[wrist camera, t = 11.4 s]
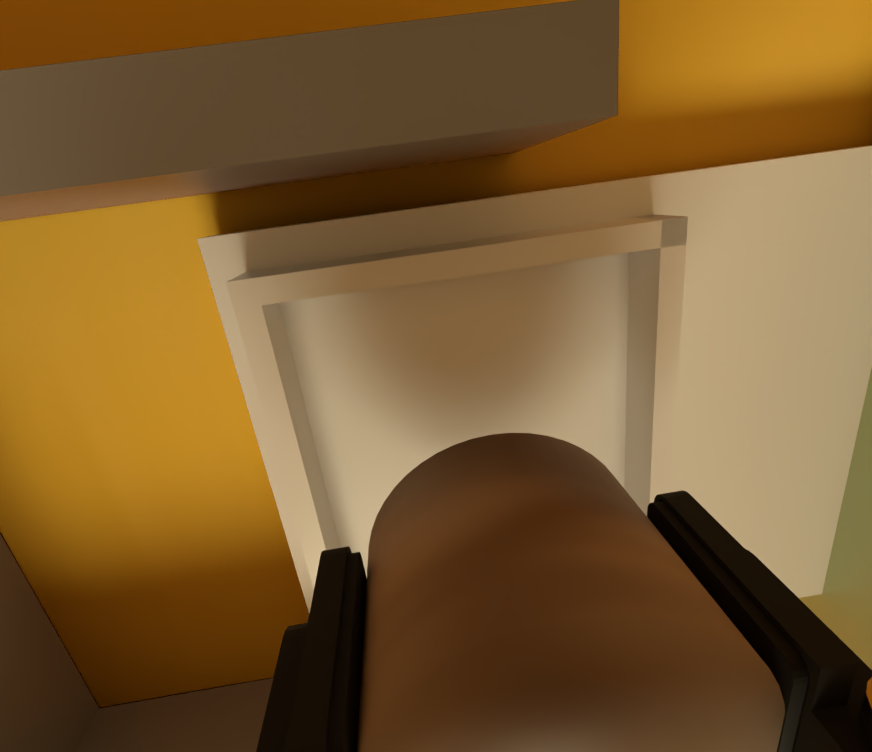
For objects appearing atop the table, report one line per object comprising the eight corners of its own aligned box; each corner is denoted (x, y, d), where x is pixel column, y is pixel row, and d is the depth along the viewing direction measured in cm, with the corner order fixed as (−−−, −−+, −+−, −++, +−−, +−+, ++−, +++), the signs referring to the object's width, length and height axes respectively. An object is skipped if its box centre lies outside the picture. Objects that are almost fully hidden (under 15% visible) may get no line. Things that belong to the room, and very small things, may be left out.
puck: (634, 411, 10) (819, 574, 6) (628, 625, 12) (757, 857, 8) (344, 457, 10) (308, 664, 5) (392, 667, 12) (393, 931, 7)
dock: (510, 90, 12) (619, -5, 6) (545, 656, 19) (610, 848, 13) (-262, 189, 11) (-924, 182, 6) (76, 739, 18) (-63, 979, 13)
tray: (957, 26, 12) (1487, -133, 6) (823, 616, 19) (1010, 796, 13) (180, 126, 11) (-42, 51, 5) (345, 700, 18) (325, 931, 13)
